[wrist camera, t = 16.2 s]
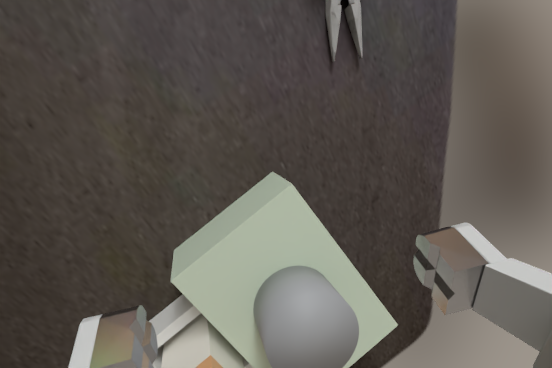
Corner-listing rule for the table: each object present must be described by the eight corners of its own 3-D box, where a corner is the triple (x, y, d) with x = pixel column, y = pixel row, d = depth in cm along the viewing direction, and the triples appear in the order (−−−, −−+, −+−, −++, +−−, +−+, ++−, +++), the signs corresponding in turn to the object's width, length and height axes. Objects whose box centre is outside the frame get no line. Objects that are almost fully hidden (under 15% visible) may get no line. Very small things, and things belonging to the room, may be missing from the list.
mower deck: (219, 412, 39) (232, 535, 27) (105, 304, 34) (63, 397, 23) (363, 290, 40) (432, 359, 29) (272, 171, 36) (311, 196, 24)
